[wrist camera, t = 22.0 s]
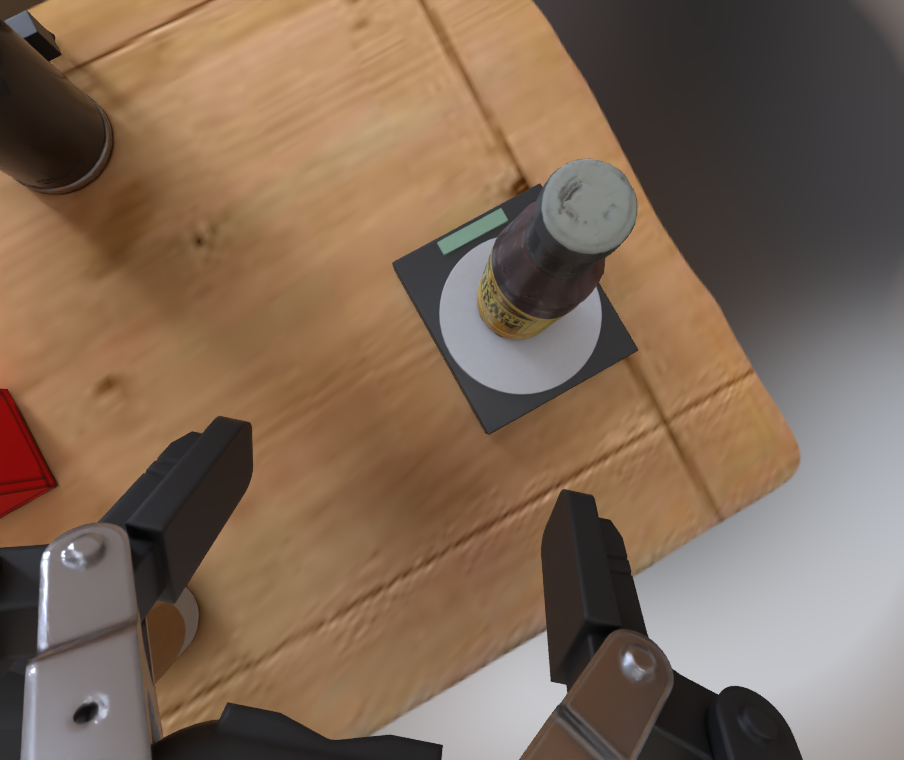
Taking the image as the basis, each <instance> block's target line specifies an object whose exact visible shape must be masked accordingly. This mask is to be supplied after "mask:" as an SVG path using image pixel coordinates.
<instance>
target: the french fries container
mask: <svg viewBox="0 0 904 760" xmlns="http://www.w3.org/2000/svg"><path fill="white" fill-rule="evenodd" d="M56 486H57V485H56V483H55V481H54V479H53V477H52V475H51V473H50V471H49V469H48V467H47V465H46V463H45V461H44V459H43V457H42V456H41V454H40V452H39V450H38V448H37V446H36V444H35V442H34V440H33V438H32V436H31V434H30V432H29V430H28V428H27V426H26V424H25V422H24V420H23V419H22V417H21V415H20V413H19V411H18V409H17V407H16V405H15V403H14V401H13V399H12V397H11V395H10V393H9V391H8V389H0V518H1V517H3V516H5V515H6V514H8V513H10V512H12V511H13V510H15V509H17V508H19V507H21V506H22V505H24V504H26V503H28V502H30V501H31V500H33V499H35V498H37V497H38V496H40V495H42V494H44V493H46V492H47V491H49V490H51V489H53V488H55V487H56Z"/></svg>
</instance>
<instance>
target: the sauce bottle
mask: <svg viewBox="0 0 904 760" xmlns="http://www.w3.org/2000/svg"><path fill="white" fill-rule="evenodd" d="M636 216H637V198H636V194H635V192H634V189H633V188H632V186H631V184H630V183H629V181H628V179H627V177H626V176H625V175H624V174H623V173H622V172H621V171H620V170H619V169H618V168H616V167H615V166H613V165H611V164H609V163H604V162H602V161H600V160H594V159H580V160H576V161H573V162H569V163H567V164H565V165H564V166H563V167H561V168H559V169H558V170H556V171H555V172H554V173H553V174H552V175H551V176H550V178H549V179H548V181H547V182H546V183H545V185H544V187H543V188H542V189H541V192H540V194H539V196H538V197H537V200H536V202H533V203H532V204H530V205H529V206H527V207H526V208H525V209H524V210H523V211H522V212H521V213H520V214H519V215H518V216H517V217H516V218H515V219H514V220H513V221H512V222H511V223H510V224H509V225H508V226H507V227H506V228H505V229H504V230H503V231H502V232H501V233H500V234H499V235H498V237H497V239H496V240H495V243H494V245H493V248H492V250H491V253H490V255H489V259H488V261H487V263H486V266H485V270H484V272H483V275H482V278H481V280H480V283H479V286H478V290H477V306H478V310H479V314H480V317H481V318H482V320H483V322H484V323H485V324H486V325H487V326H488V328H489V329H491V330H492V331H493V332H494V333H495V334H496V335H498V336H500V337H505V338H508V339H515V340H520V339H526V338H530V337H533V336H535V335H537V334H539V333H541V332H542V331H544V330H545V329H546V328H548V327H549V326H550V325H552V324H553V323H555V322H556V321H558V320H559V319H561V318H562V317H564V316H565V315H567V314H568V313H569V312H571V311H572V310H573V309H575V308H576V307H577V306H578V305H579V304H580V303H581V302H583V301H585V299H586V298H587V297H588V296H589V295H590V294H591V293H592V292H593V290H594V289H595V287H596V286H597V284H598V282H599V281H600V279H601V277H602V275H603V274H604V266H605V257H607V256H608V255H610V254H611V253H612V252H614V251H615V250H616V249H617V248H618V247H619V246H620V245H621V244H622V243H623V242H624V241H625V240H626V238H627V237H628V236H629V234H630V233H631V231H632V229H633V227H634V225H635V222H636Z"/></svg>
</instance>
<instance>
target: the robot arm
mask: <svg viewBox="0 0 904 760" xmlns="http://www.w3.org/2000/svg"><path fill="white" fill-rule="evenodd" d="M61 55H62V54H61V52H60V50H59V48H58V46H57V44H56V42H55V36H54V34H52V33H51V32H49V31H47V30H46V29H45V28H44V27H43V26H42V25H41V24H40V23H39V22H38V21H37V20H36V19H35V18H34V17H33V16H32V15H31V14H30V13H29V12H28V11H24V12H22V13H20V14H18V15H16V16H14V17H12V18H10V19H8V20H6V21H3V20H2V19H1V18H0V171H2V172H4V173H6V174H8V175H9V176H11V177H12V178H14V179H15V180H16V181H18V182H19V183H21V184H23V185H25V186H27V187H28V188H30V189H33V190H35V191H38V192H42V193H47V194H62V193H68V192H71V191H74V190H77V189H79V188H81V187H83V186H85V185H87V184H88V183H90V182H91V181H92V180H93V179H94V178H96V177H97V175H98V174H99V173H100V172H101V171H102V169H103V168H104V166H105V165H106V163H107V161H108V159H109V156H110V153H111V149H112V141H113V138H112V129H111V125H110V122H109V120H108V118H107V116H106V114H105V112H104V111H103V110H102V108H101V107H100V106H99V105H98V104H97V103H96V102H95V101H94V100H92V99H91V98H90V97H89V96H88V95H86V94H85V93H83V92H82V91H81V90H80V89H79V88H77V87H76V86H75V85H74V84H73V83H72V82H71V81H70V80H69V79H68V78H66V77H65V76H64V75H63V74H62V73H61V72H60V71H59V70H58V69H57V68H56V67H54V66H53V65H52V64H51V63H50V62H49V61H50V60H53V59H55V58H57V57H59V56H61ZM252 472H253V448H252V426H251V423H250V422H246V421H242V420H237V419H232V418H227V417H223V416H218V417H217V418H215V419H214V420H213V422H212V423H211V424H210V425H209V426H208V427H207V429H206V430H205V431H204V432H203V433H197V432H190V433H188V434H186V435H185V436H183V437H181V438H179V439H177V440H176V441H174V442H172V443H171V444H170V445H169V446H168V447H167V448H166V449H165V450H164V451H163V453H162V454H161V455H160V456H159V457H158V459H157V461H154V462H153V463H152V464H151V466H150V467H149V468H148V469H147V470H146V473H145V474H144V473H143V474H142V475H141V476H140V477H139V479H138V480H137V481H136V482H135V483H134V484H133V485H132V486H131V487H130V488H129V489H128V490H127V492H126V493H125V494H124V495H123V496H122V497H121V498H120V499H119V500H118V501H117V502H116V503H115V505H114V506H113V507H112V508H111V509H110V510H109V511H108V512H107V513H106V514H105V515H104V516H103V518H102V519H101V520H100V521H98V522H97V523H91V524H86V525H82V526H79V527H76V528H74V529H71V530H69V531H67V532H65V533H64V534H62V535H61V536H59V537H58V538H56V539H55V540H54V541H53V542H52V543H51V544H46V545H34V546H19V547H4V548H0V680H1V679H2V677H3V676H4V675H5V673H6V672H7V671H8V670H9V668H10V667H11V666H12V664H13V663H14V662H15V661H16V659H17V658H23V657H30V658H29V659H28V662H27V666H26V673H25V689H24V706H23V724H22V742H21V759H20V760H441V757H442V748H443V745H440V744H435V743H430V742H424V741H420V740H415V739H410V738H405V737H400V736H395V735H383V736H372V737H362V738H352V739H343V740H330V739H327V738H325V737H323V736H322V735H320V734H318V733H316V732H314V731H312V730H311V729H309V728H307V727H305V726H303V725H302V724H300V723H298V722H296V721H294V720H292V719H291V718H289V717H287V716H285V715H283V714H282V713H278V712H273V711H268V710H263V709H258V708H253V707H248V706H243V705H238V704H233V703H228V702H227V704H226V706H225V709H224V711H223V713H222V715H221V717H220V719H219V720H211V721H206V722H202V723H198V724H194V725H192V726H189V727H186V728H183V729H181V730H179V731H176V732H174V733H172V734H170V735H168V736H166V737H163V730H162V724H161V718H160V713H159V707H158V701H157V694H156V686H155V679H154V671H153V663H152V655H151V648H150V640H149V632H148V624H147V618H146V616H147V614H148V613H149V611H150V610H151V608H152V607H153V605H154V604H155V602H156V601H162V602H167V603H172V604H175V603H176V601H177V600H178V598H179V596H180V595H181V593H182V592H183V590H184V589H185V587H186V585H187V584H188V582H189V581H190V579H191V577H192V576H193V574H194V573H195V571H196V570H197V568H198V566H199V565H200V563H201V562H202V560H203V558H204V557H205V555H206V554H207V552H208V551H209V549H210V547H211V546H212V544H213V543H214V541H215V539H216V538H217V536H218V535H219V533H220V532H221V530H222V528H223V527H224V525H225V524H226V522H227V521H228V519H229V517H230V516H231V514H232V513H233V511H234V509H235V508H236V506H237V505H238V503H239V502H240V500H241V498H242V497H243V495H244V494H245V492H246V490H247V488H248V486H249V483H250V480H251V477H252ZM541 559H542V572H543V585H544V598H545V611H546V624H547V637H548V651H549V663H550V676H551V682H555V683H561V684H566V685H567V695H566V696H565V698H564V699H563V700H562V702H561V703H560V704H559V705H558V706H557V707H556V709H555V710H554V711H553V712H552V714H551V715H550V717H549V718H548V719H547V721H546V722H545V724H544V725H543V726H542V728H541V729H540V731H539V732H538V734H537V735H536V737H535V738H534V739H533V741H532V742H531V744H530V745H529V746H528V748H527V750H526V751H525V752H524V753H523V755H522V756H521V758H520V759H519V760H803V759H802V756H801V754H800V751H799V749H798V746H797V743H796V741H795V738H794V736H793V734H792V732H791V729H790V727H789V726H788V724H787V723H786V721H785V719H784V718H783V716H782V715H781V714H780V713H779V712H778V710H777V709H776V708H775V707H774V706H773V705H772V704H771V703H770V702H769V701H767V700H766V699H765V698H763V697H762V696H761V695H759V694H758V693H756V692H754V691H752V690H750V689H747V688H744V687H740V686H730V687H727V688H725V689H724V690H722V691H721V693H720V694H719V695H718V694H716V693H714V692H712V691H710V690H708V689H706V688H704V687H703V686H701V685H699V684H697V683H695V682H693V681H691V680H689V679H687V678H686V677H684V676H682V675H680V674H679V673H677V672H676V671H675V670H673V669H672V667H671V665H670V662H669V661H668V659H667V657H666V655H665V654H664V653H663V651H662V650H661V649H660V648H659V647H658V645H657V644H656V643H654V642H653V641H652V640H651V639H649V637H648V634H647V631H646V627H645V623H644V620H643V615H642V612H641V608H640V604H639V600H638V596H637V592H636V588H635V585H634V580H633V576H631V569H630V565H629V561H628V560H627V553H626V549H625V545H624V542H623V538H622V536H621V535H620V533H619V532H618V530H617V529H616V528H615V526H614V525H613V523H612V522H611V520H608V519H604V518H599V517H598V512H597V507H596V503H595V499H594V497H593V495H590V494H585V493H580V492H575V491H571V490H566V489H563V490H562V491H561V492H560V494H559V497H558V499H557V501H556V504H555V506H554V508H553V511H552V513H551V516H550V518H549V520H548V523H547V525H546V527H545V530H544V533H543V538H542V545H541Z"/></svg>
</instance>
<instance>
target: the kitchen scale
mask: <svg viewBox="0 0 904 760" xmlns="http://www.w3.org/2000/svg"><path fill="white" fill-rule="evenodd" d="M542 188H543V187H542V186H541V184H538V185H536V186H534V187H532V188H530V189H528V190H526V191H525V192H523V193H521V194H519V195H517V196H515V197H513V198H512V199H510V200H508V201H506V202H504V203H502V204H500V205H499V206H497V207H495V208H493V209H491V210H489V211H487V212H486V213H484V214H482V215H480V216H478V217H476V218H474V219H473V220H471V221H469V222H467V223H465V224H463V225H461V226H460V227H458V228H456V229H454V230H452V231H450V232H448V233H447V234H445V235H443V236H441V237H439V238H437V239H435V240H434V241H432V242H430V243H428V244H426V245H424V246H422V247H420V248H419V249H417V250H415V251H413V252H411V253H409V254H407V255H406V256H404V257H402V258H400V259H398V260H396V261H394V262H393V263H392V264H393V267H394V270H395V272H396V274H397V276H398V278H399V279H400V281H401V283H402V285H403V287H404V288H405V290H406V292H407V294H408V295H409V297H410V299H411V301H412V303H413V304H414V306H415V308H416V310H417V312H418V313H419V315H420V317H421V319H422V321H423V322H424V324H425V326H426V328H427V329H428V331H429V333H430V335H431V337H432V338H433V340H434V342H435V344H436V346H437V347H438V349H439V351H440V353H441V354H442V356H443V358H444V360H445V362H446V363H447V365H448V367H449V369H450V371H451V372H452V374H453V376H454V378H455V379H456V381H457V383H458V385H459V387H460V388H461V390H462V392H463V394H464V396H465V397H466V399H467V401H468V403H469V404H470V406H471V408H472V410H473V412H474V413H475V415H476V417H477V419H478V421H479V422H480V424H481V426H482V428H483V429H484V431H485V433H486V434H491V433H493V432H494V431H496V430H498V429H500V428H502V427H503V426H505V425H507V424H509V423H510V422H512V421H514V420H516V419H518V418H519V417H521V416H523V415H525V414H526V413H528V412H530V411H532V410H533V409H535V408H537V407H539V406H541V405H542V404H544V403H546V402H548V401H549V400H551V399H553V398H555V397H557V396H558V395H560V394H562V393H564V392H565V391H567V390H569V389H571V388H573V387H574V386H576V385H578V384H580V383H581V382H583V381H585V380H587V379H588V378H590V377H592V376H594V375H596V374H597V373H599V372H601V371H603V370H604V369H606V368H608V367H610V366H612V365H613V364H615V363H617V362H619V361H620V360H622V359H624V358H626V357H628V356H629V355H631V354H633V353H635V352H636V351H638V348H637V347H636V345H635V343H634V342H633V340H632V338H631V336H630V335H629V333H628V331H627V330H626V328H625V326H624V325H623V323H622V321H621V320H620V318H619V316H618V314H617V313H616V311H615V309H614V308H613V306H612V304H611V303H610V301H609V299H608V297H607V296H606V294H605V292H604V291H603V289H602V287H601V286H600V284H599V282H598V284H597V286H596V287H595V289H594V290H593V292H592V293H591V294H590V295H589V296H588V297H587V298H586V299H585V301H583V302H581V303H580V304H579V305H578V306H577V307H576V308H575V309H573V310H572V311H571V312H569V313H568V314H567V315H565V316H564V317H562V318H561V319H559V320H558V321H556V322H555V323H553V324H552V325H550V326H549V327H548V328H546V329H545V330H544V331H542V332H541V333H539V334H537V335H535V336H533V337H530V338H526V339H520V340H515V339H508V338H505V337H500V336H498V335H496V334H495V333H494V332H493V331H492V330H491V329H489V328H488V326H487V325H486V324H485V323H484V322H483V320H482V318H481V317H480V314H479V310H478V306H477V290H478V286H479V283H480V280H481V278H482V275H483V272H484V270H485V266H486V263H487V261H488V259H489V255H490V253H491V250H492V248H493V245H494V243H495V240H496V239H497V237H498V235H499V234H500V233H501V232H502V231H503V230H504V229H505V228H506V227H507V226H508V225H509V224H510V223H511V222H512V221H513V220H514V219H515V218H516V217H517V216H518V215H519V214H520V213H521V212H522V211H523V210H524V209H525V208H526V207H527V206H529V205H530V204H532V203H533V202H536V200H537V197H538V196H539V194H540V192H541V189H542Z"/></svg>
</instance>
